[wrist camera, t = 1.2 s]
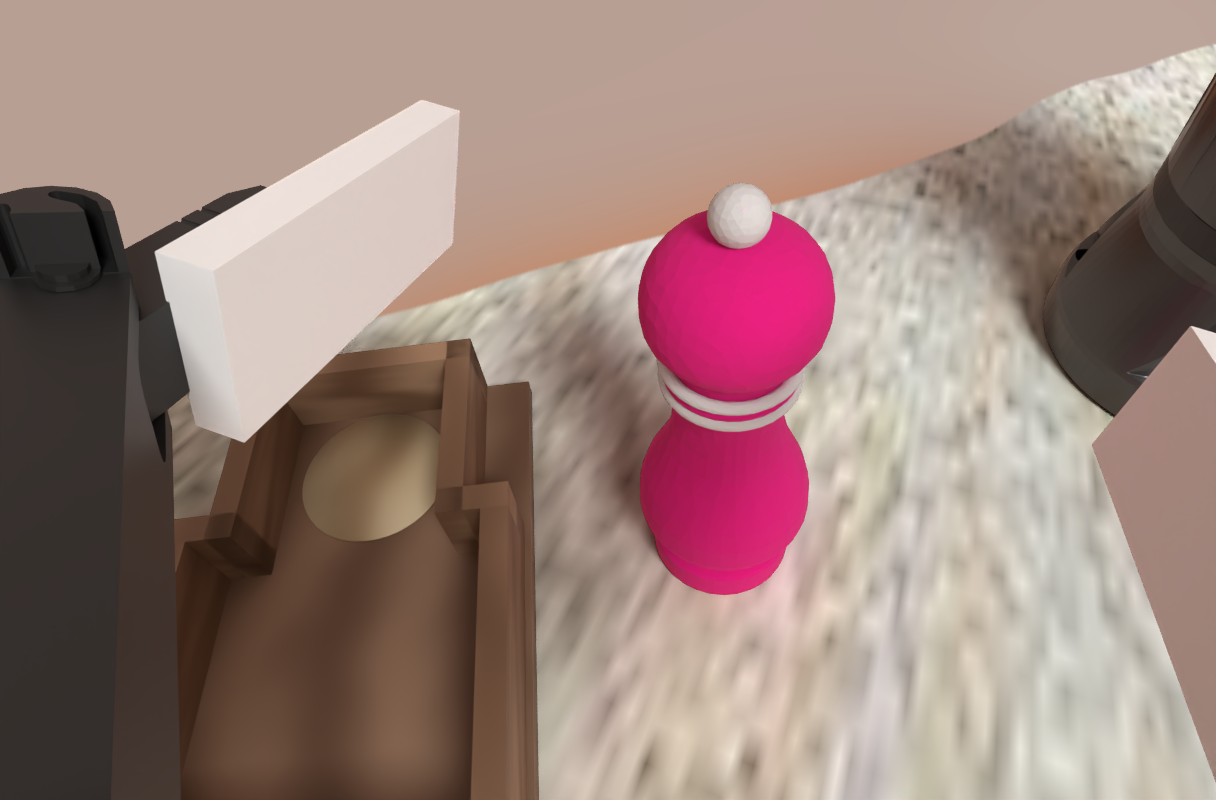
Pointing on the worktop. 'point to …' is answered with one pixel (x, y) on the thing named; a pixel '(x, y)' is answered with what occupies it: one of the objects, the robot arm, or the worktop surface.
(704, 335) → the pepper mill
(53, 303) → the robot arm
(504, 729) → the keyhole cradle
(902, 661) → the worktop surface
